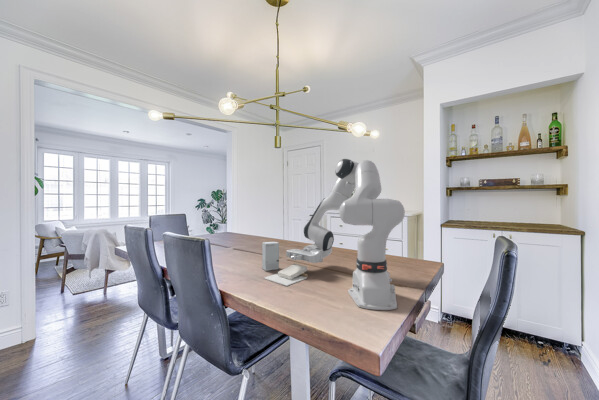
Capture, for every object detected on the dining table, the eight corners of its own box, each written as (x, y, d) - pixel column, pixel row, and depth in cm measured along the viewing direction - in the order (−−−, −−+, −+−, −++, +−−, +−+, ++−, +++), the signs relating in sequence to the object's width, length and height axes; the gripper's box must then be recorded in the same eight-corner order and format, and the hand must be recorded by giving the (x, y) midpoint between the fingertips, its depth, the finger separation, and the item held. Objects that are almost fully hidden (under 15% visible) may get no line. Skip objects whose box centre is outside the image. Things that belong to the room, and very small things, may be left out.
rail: (287, 271, 133) (287, 268, 133) (307, 277, 124) (307, 274, 124) (285, 272, 132) (285, 269, 132) (305, 277, 123) (305, 274, 123)
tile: (294, 263, 133) (277, 272, 125) (306, 266, 127) (290, 275, 119) (294, 267, 134) (278, 275, 125) (307, 270, 127) (290, 280, 119)
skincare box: (265, 271, 134) (265, 243, 134) (261, 268, 140) (261, 242, 139) (279, 269, 138) (279, 242, 138) (275, 266, 143) (275, 240, 143)
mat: (284, 272, 133) (284, 271, 133) (306, 278, 122) (306, 277, 122) (263, 278, 122) (263, 277, 122) (286, 286, 112) (286, 285, 112)
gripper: (296, 245, 143) (278, 249, 133) (325, 250, 129) (307, 255, 119) (296, 256, 143) (278, 261, 133) (325, 262, 129) (307, 268, 119)
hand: (292, 258), depth 126 cm, fingers closed
